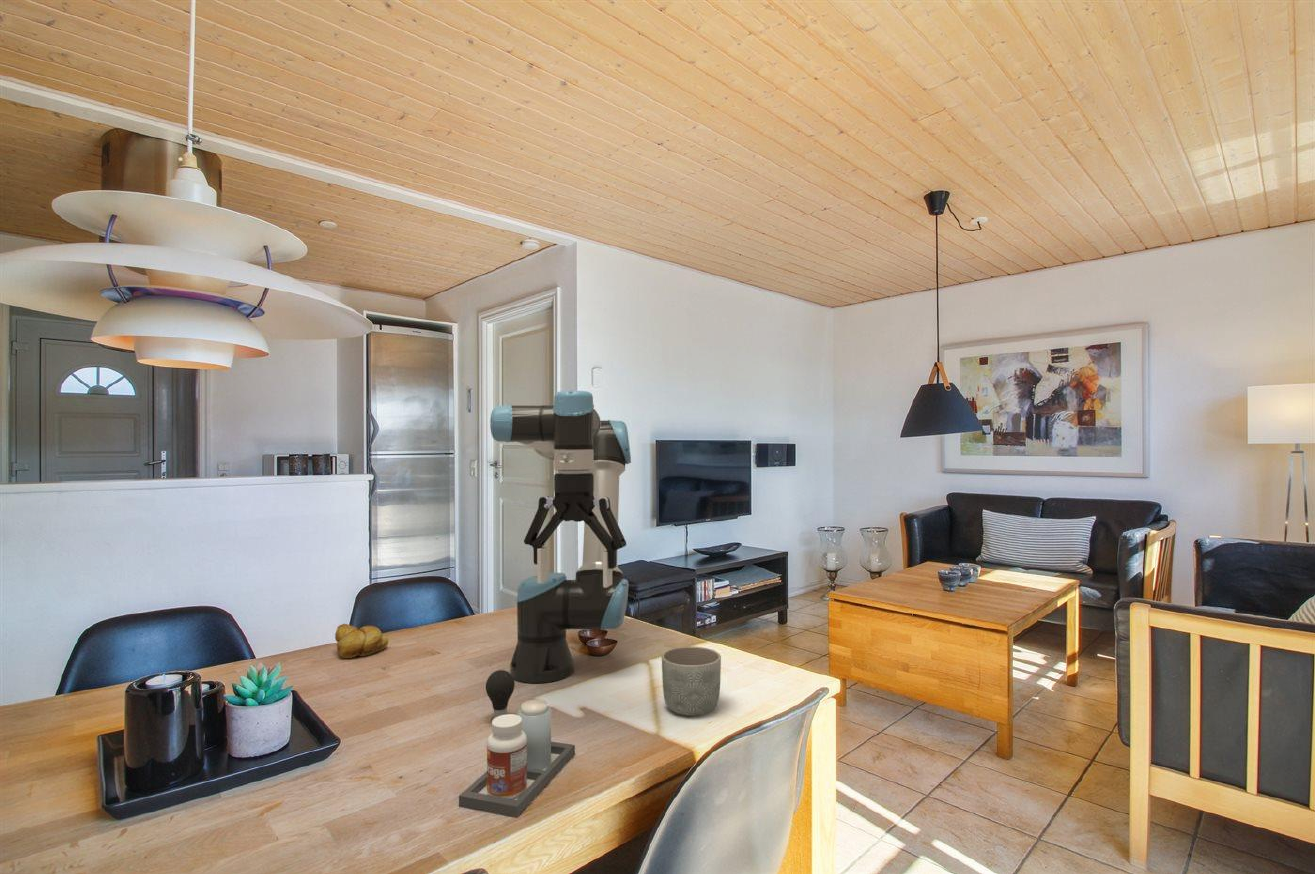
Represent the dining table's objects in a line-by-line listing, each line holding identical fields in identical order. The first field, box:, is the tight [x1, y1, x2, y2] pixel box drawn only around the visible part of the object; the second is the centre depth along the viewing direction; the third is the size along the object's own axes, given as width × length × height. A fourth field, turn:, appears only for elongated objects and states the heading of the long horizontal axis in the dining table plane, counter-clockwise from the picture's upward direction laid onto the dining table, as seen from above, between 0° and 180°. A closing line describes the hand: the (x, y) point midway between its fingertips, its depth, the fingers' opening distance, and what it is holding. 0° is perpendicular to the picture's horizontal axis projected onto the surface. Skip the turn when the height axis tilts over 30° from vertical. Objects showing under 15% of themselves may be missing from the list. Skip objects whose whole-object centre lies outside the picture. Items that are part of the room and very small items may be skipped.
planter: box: [661, 645, 722, 717], centre depth 131 cm, size 12×12×11 cm
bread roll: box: [334, 623, 389, 659], centre depth 168 cm, size 13×10×8 cm
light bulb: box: [485, 669, 516, 719], centre depth 126 cm, size 6×6×10 cm
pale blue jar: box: [517, 699, 552, 770], centre depth 108 cm, size 6×6×10 cm
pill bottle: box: [486, 713, 527, 799], centre depth 100 cm, size 6×6×11 cm
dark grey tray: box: [458, 741, 576, 818], centre depth 104 cm, size 10×20×2 cm, turn 163°
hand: (574, 583), depth 120 cm, fingers open, 13 cm apart
